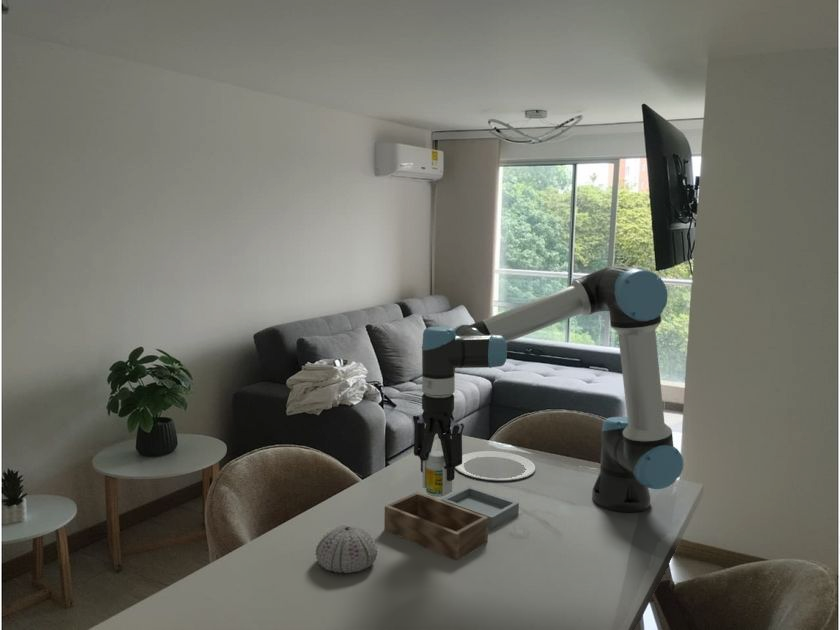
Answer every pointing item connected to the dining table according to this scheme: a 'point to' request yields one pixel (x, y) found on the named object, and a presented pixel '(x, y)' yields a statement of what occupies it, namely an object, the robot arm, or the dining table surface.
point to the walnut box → (436, 525)
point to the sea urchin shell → (346, 550)
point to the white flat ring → (527, 463)
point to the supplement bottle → (435, 473)
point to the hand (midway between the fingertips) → (437, 489)
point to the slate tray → (484, 505)
